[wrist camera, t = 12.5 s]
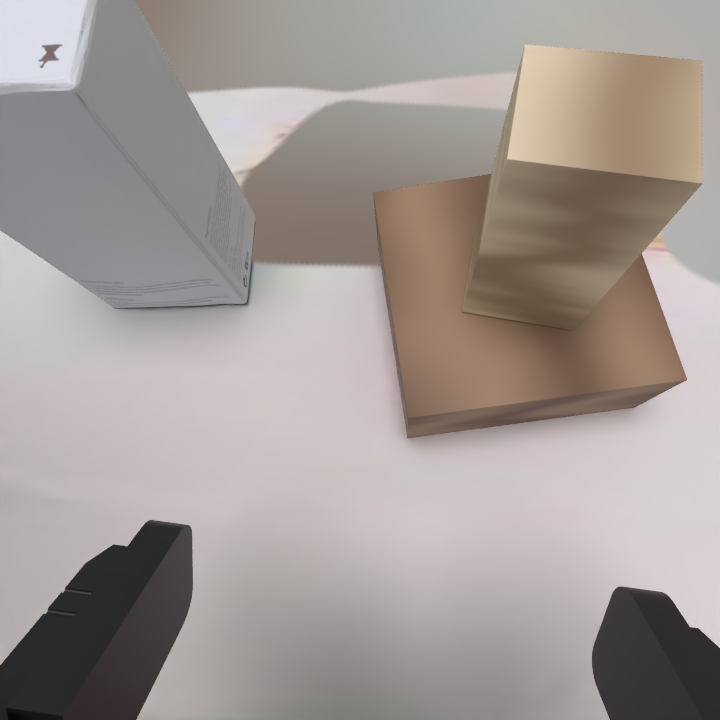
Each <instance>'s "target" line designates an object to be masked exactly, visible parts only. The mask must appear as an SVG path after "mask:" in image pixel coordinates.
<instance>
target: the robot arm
mask: <svg viewBox="0 0 720 720" xmlns="http://www.w3.org/2000/svg"><path fill="white" fill-rule="evenodd" d="M192 590H193V568H192V530H191V527H190V526H189V525H183V524H176V523H169V522H162V521H154V520H149V521H148V522H146V523H145V524H144V525H143V527H142V528H141V529H140V531H139V532H138V533H137V535H136V536H135V537H134V539H133V540H132V541H131V542H130V544H129V545H128V546H120V545H112V546H111V547H109V548H108V549H106V550H105V551H103V552H102V553H100V554H99V555H97V556H96V557H94V558H93V559H91V560H90V561H88V562H87V563H86V564H85V565H84V566H83V567H82V568H81V570H80V571H79V572H78V573H77V574H76V576H75V577H74V578H73V579H72V580H71V581H70V583H69V584H68V585H67V586H66V587H65V591H64V593H60V595H59V596H58V597H57V598H56V599H55V601H54V602H53V603H52V604H51V605H50V607H49V608H48V611H47V613H46V614H43V615H42V616H41V617H40V619H39V620H38V621H37V622H36V623H35V625H34V626H33V627H32V628H31V629H30V631H29V632H28V633H27V634H26V635H25V637H24V638H23V639H22V640H21V641H20V643H19V644H18V645H17V646H16V647H15V649H14V650H13V651H12V652H11V653H10V655H9V656H8V657H7V658H6V659H5V660H4V662H3V663H2V664H1V665H0V720H136V719H137V717H138V715H139V713H140V711H141V709H142V707H143V705H144V703H145V701H146V699H147V697H148V695H149V693H150V691H151V689H152V687H153V685H154V682H155V680H156V678H157V676H158V674H159V672H160V670H161V668H162V666H163V664H164V662H165V660H166V658H167V656H168V654H169V652H170V650H171V648H172V646H173V644H174V642H175V640H176V638H177V636H178V634H179V632H180V630H181V628H182V626H183V624H184V621H185V619H186V616H187V613H188V610H189V607H190V603H191V598H192ZM592 667H593V674H594V679H595V682H596V685H597V688H598V691H599V693H600V696H601V698H602V701H603V703H604V706H605V708H606V711H607V713H608V716H609V718H610V720H720V648H719V647H718V646H717V645H716V644H715V643H714V642H712V641H711V640H710V639H709V638H708V637H707V636H706V635H705V634H704V633H703V632H702V631H700V630H699V629H698V628H692V627H689V625H688V624H687V622H686V621H685V619H684V618H683V616H682V615H681V613H680V612H679V610H678V609H677V607H676V606H675V604H674V603H673V601H672V600H671V599H670V597H669V596H668V595H666V594H665V593H662V592H657V591H650V590H643V589H636V588H628V587H617V588H616V589H615V590H614V592H613V594H612V596H611V599H610V602H609V605H608V607H607V610H606V613H605V616H604V619H603V621H602V624H601V627H600V630H599V632H598V635H597V638H596V641H595V644H594V647H593V652H592Z"/></svg>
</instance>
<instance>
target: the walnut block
mask: <svg viewBox="0 0 720 720" xmlns="http://www.w3.org/2000/svg"><path fill="white" fill-rule="evenodd" d="M490 176H491V174H489V175H482V176H476V177H470V178H463V179H457V180H451V181H444V182H438V183H431V184H425V185H418V186H413V187H406V188H399V189H393V190H386V191H380V192H374V193H373V195H374V206H375V217H376V227H377V240H378V250H379V257H380V263H381V268H382V275H383V281H384V288H385V294H386V301H387V307H388V314H389V320H390V327H391V333H392V340H393V346H394V353H395V359H396V366H397V372H398V379H399V385H400V392H401V398H402V405H403V411H404V418H405V424H406V431H407V437H408V438H412V437H419V436H426V435H434V434H441V433H449V432H456V431H463V430H471V429H478V428H486V427H493V426H500V425H508V424H515V423H523V422H530V421H537V420H545V419H552V418H560V417H567V416H574V415H582V414H589V413H597V412H604V411H612V410H619V409H626V408H634V407H636V406H638V405H640V404H642V403H644V402H646V401H647V400H649V399H651V398H653V397H655V396H657V395H659V394H661V393H663V392H665V391H667V390H669V389H670V388H672V387H674V386H676V385H678V384H680V383H682V382H684V381H686V380H687V378H686V375H685V372H684V370H683V367H682V364H681V361H680V359H679V356H678V353H677V350H676V347H675V345H674V342H673V339H672V336H671V334H670V331H669V328H668V325H667V322H666V320H665V317H664V314H663V311H662V309H661V306H660V303H659V300H658V297H657V295H656V292H655V289H654V286H653V284H652V281H651V278H650V275H649V273H648V270H647V267H646V264H645V261H644V259H643V256H642V253H641V254H640V255H639V257H638V258H637V259H636V260H635V261H634V262H633V263H632V265H631V266H630V267H629V268H628V269H627V270H626V271H625V273H624V274H623V275H622V276H621V277H620V278H619V279H618V281H617V282H616V283H615V284H614V285H613V286H612V287H611V289H610V290H609V291H608V292H607V293H606V294H605V296H604V297H603V298H602V299H601V300H600V301H599V302H598V304H597V305H596V306H595V307H594V308H593V309H592V310H591V312H590V313H589V314H588V315H587V316H586V317H585V318H584V320H583V321H582V322H581V323H580V324H579V325H578V326H577V328H576V329H575V330H574V331H573V330H567V329H561V328H555V327H549V326H543V325H538V324H532V323H526V322H520V321H514V320H508V319H502V318H496V317H490V316H485V315H479V314H473V313H467V312H462V308H463V303H464V297H465V291H466V285H467V279H468V274H469V268H470V262H471V256H472V250H473V244H474V239H475V233H476V229H477V225H478V221H479V217H480V214H481V210H482V206H483V202H484V198H485V195H486V191H487V187H488V183H489V179H490Z"/></svg>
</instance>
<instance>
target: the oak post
mask: <svg viewBox="0 0 720 720" xmlns="http://www.w3.org/2000/svg"><path fill="white" fill-rule="evenodd" d="M701 185H702V61H699V60H688V59H676V58H667V57H656V56H645V55H634V54H624V53H613V52H602V51H591V50H581V49H570V48H559V47H548V46H538V45H527V44H525V46H524V50H523V54H522V58H521V62H520V66H519V69H518V73H517V77H516V81H515V84H514V88H513V92H512V96H511V100H510V103H509V107H508V111H507V115H506V119H505V122H504V126H503V130H502V134H501V138H500V141H499V145H498V149H497V153H496V157H495V161H494V165H493V168H492V172H491V176H490V179H489V183H488V187H487V191H486V195H485V198H484V202H483V206H482V210H481V214H480V217H479V221H478V225H477V229H476V233H475V239H474V244H473V250H472V256H471V262H470V268H469V274H468V279H467V285H466V291H465V297H464V303H463V308H462V312H467V313H473V314H479V315H485V316H490V317H496V318H502V319H508V320H514V321H520V322H526V323H532V324H538V325H543V326H549V327H555V328H561V329H567V330H573V331H574V330H575V329H576V328H577V326H578V325H579V324H580V323H581V322H582V321H583V320H584V318H585V317H586V316H587V315H588V314H589V313H590V312H591V310H592V309H593V308H594V307H595V306H596V305H597V304H598V302H599V301H600V300H601V299H602V298H603V297H604V296H605V294H606V293H607V292H608V291H609V290H610V289H611V287H612V286H613V285H614V284H615V283H616V282H617V281H618V279H619V278H620V277H621V276H622V275H623V274H624V273H625V271H626V270H627V269H628V268H629V267H630V266H631V265H632V263H633V262H634V261H635V260H636V259H637V258H638V257H639V255H640V254H641V253H642V252H643V251H644V250H645V249H646V247H647V246H648V245H649V244H650V243H651V242H652V241H653V239H654V238H655V237H656V236H657V235H658V234H659V233H660V231H661V230H662V229H663V228H664V227H665V226H666V225H667V223H668V222H669V221H670V220H671V219H672V218H673V217H674V215H675V214H676V213H677V212H678V211H679V210H680V209H681V207H682V206H683V205H684V204H685V203H686V202H687V200H688V199H689V198H690V197H691V196H692V195H693V193H694V192H695V191H696V190H697V189H698V188H699V187H700V186H701Z"/></svg>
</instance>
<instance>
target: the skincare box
mask: <svg viewBox="0 0 720 720" xmlns="http://www.w3.org/2000/svg"><path fill="white" fill-rule="evenodd" d="M0 230H1V231H2V232H4V233H5V234H7V235H8V236H10V237H11V238H13V239H14V240H16V241H17V242H19V243H20V244H22V245H23V246H25V247H26V248H27V249H29V250H30V251H32V252H33V253H35V254H36V255H38V256H39V257H41V258H42V259H44V260H45V261H47V262H48V263H50V264H51V265H53V266H54V267H55V268H57V269H58V270H60V271H62V272H63V273H64V274H66V275H67V276H69V277H70V278H72V279H73V280H75V281H76V282H78V283H79V284H81V285H82V286H84V287H85V288H86V289H88V290H89V291H91V292H92V293H94V294H95V295H97V296H98V297H100V298H101V299H103V300H104V301H106V302H107V303H109V304H110V305H111V306H112V307H114V308H132V307H167V306H196V305H214V304H245V303H247V298H248V290H249V277H250V268H251V258H252V251H253V241H254V230H255V214H254V212H253V210H252V209H251V207H250V205H249V203H248V202H247V200H246V198H245V196H244V194H243V192H242V190H241V189H240V187H239V185H238V183H237V181H236V180H235V178H234V176H233V174H232V173H231V171H230V169H229V167H228V165H227V164H226V162H225V160H224V158H223V157H222V155H221V153H220V151H219V150H218V148H217V146H216V144H215V142H214V141H213V139H212V137H211V135H210V133H209V132H208V130H207V128H206V126H205V124H204V123H203V121H202V119H201V118H200V116H199V114H198V112H197V110H196V108H195V106H194V105H193V103H192V101H191V100H190V98H189V96H188V94H187V92H186V90H185V89H184V87H183V85H182V83H181V82H180V80H179V78H178V76H177V75H176V73H175V71H174V69H173V68H172V66H171V64H170V62H169V60H168V58H167V57H166V55H165V53H164V51H163V50H162V48H161V46H160V44H159V43H158V41H157V39H156V37H155V35H154V34H153V32H152V30H151V28H150V27H149V25H148V23H147V21H146V19H145V18H144V16H143V14H142V12H141V10H140V9H139V7H138V5H137V3H136V2H135V0H0Z"/></svg>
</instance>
